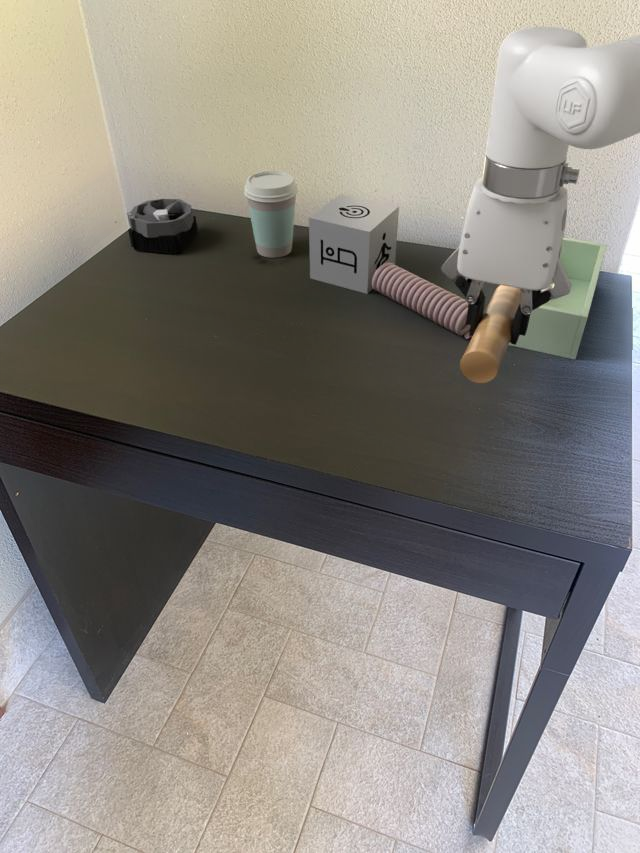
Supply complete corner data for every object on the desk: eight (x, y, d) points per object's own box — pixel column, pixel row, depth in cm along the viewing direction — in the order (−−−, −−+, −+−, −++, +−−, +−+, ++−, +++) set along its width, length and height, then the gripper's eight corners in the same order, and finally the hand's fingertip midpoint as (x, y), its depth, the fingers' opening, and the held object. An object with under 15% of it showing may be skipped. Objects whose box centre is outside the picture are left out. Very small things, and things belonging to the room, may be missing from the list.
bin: (595, 284, 105) (606, 244, 101) (575, 359, 90) (587, 317, 86) (519, 270, 109) (527, 231, 104) (488, 340, 94) (496, 298, 89)
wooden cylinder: (501, 316, 85) (487, 289, 84) (531, 306, 83) (518, 278, 81) (469, 387, 74) (453, 357, 73) (503, 377, 72) (487, 346, 70)
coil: (369, 268, 100) (464, 317, 90) (391, 255, 102) (487, 302, 92) (370, 295, 104) (462, 345, 93) (391, 282, 106) (484, 329, 95)
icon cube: (310, 278, 107) (308, 217, 101) (340, 252, 114) (340, 193, 107) (367, 293, 103) (369, 231, 97) (395, 265, 110) (399, 206, 103)
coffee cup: (307, 243, 116) (306, 173, 108) (286, 265, 110) (283, 193, 102) (262, 235, 119) (257, 165, 111) (239, 256, 113) (233, 185, 105)
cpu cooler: (200, 199, 116) (177, 225, 109) (204, 231, 120) (183, 257, 113) (143, 194, 118) (118, 219, 111) (149, 225, 122) (125, 251, 115)
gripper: (616, 172, 67) (574, 332, 78) (448, 152, 72) (433, 305, 84) (607, 201, 61) (565, 367, 73) (427, 177, 67) (415, 336, 79)
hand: (495, 332), depth 78 cm, fingers closed on wooden cylinder, 4 cm apart
